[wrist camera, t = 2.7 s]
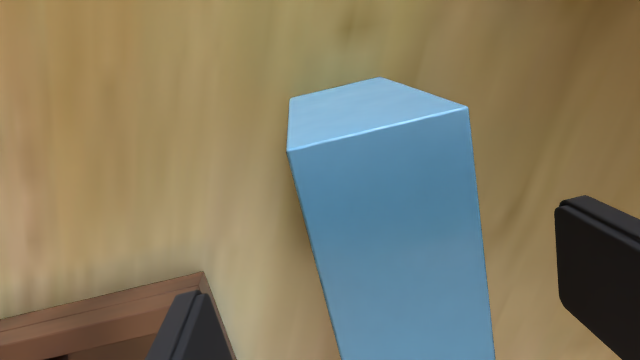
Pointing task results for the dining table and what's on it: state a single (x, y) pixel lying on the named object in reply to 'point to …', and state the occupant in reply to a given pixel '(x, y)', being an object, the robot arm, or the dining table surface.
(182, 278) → the rack
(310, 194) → the carton
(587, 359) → the dining table surface
